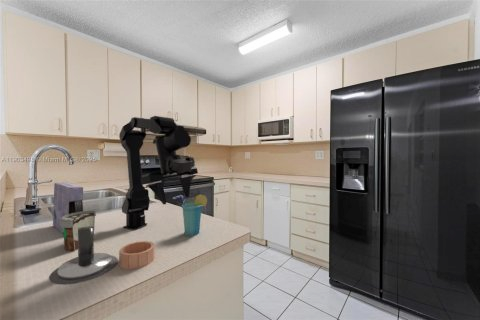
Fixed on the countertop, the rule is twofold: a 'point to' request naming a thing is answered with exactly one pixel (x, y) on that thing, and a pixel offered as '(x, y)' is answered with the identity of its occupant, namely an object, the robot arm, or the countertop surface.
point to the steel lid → (85, 258)
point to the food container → (75, 227)
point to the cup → (192, 214)
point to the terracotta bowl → (136, 254)
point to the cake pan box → (66, 201)
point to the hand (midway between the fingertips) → (176, 200)
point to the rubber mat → (57, 280)
